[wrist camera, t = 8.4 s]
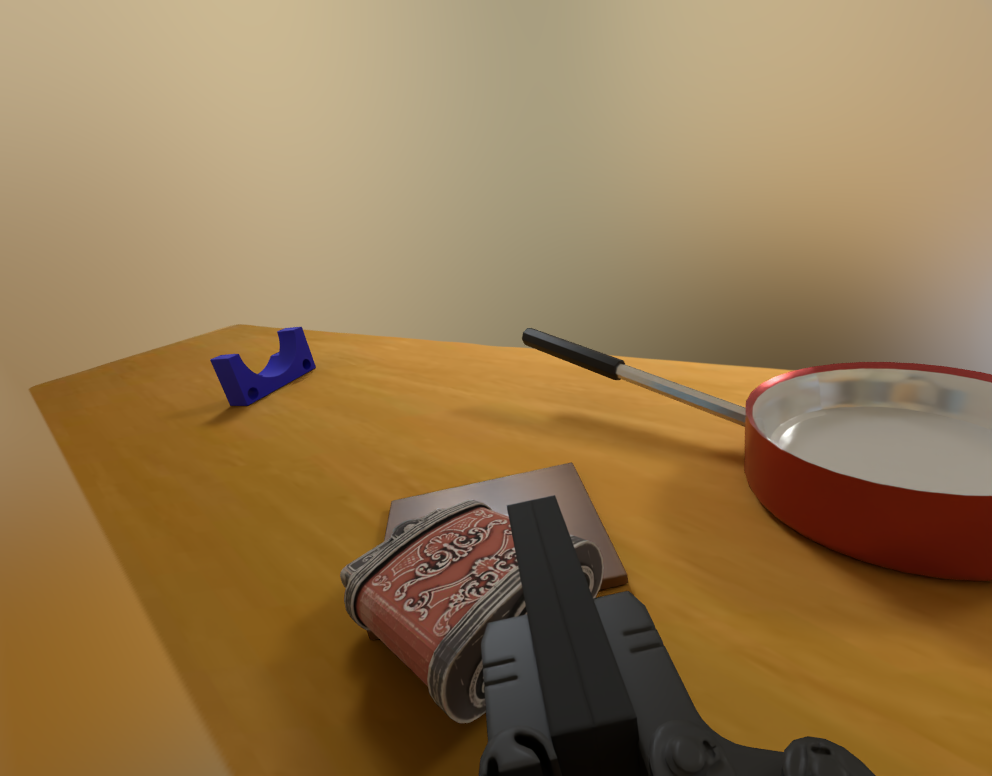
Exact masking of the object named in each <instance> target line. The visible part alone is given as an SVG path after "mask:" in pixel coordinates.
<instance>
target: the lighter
mask: <svg viewBox="0 0 992 776" xmlns="http://www.w3.org/2000/svg"><path fill="white" fill-rule="evenodd" d="M570 537H571V540H572V542H573V545H574V548H575V551H576V553H577V556H578V559H579V561H580V564H581V567H582V570H583V572H584V575H585V578H586V580H587V583H588V586H589V589H590V591H591V594H592V597H593V598H595V597H596V595H597V593H598V591H599V589H600V586H601V583H602V579H603V569H604V567H603V558H602V555H601V552H600V549H599V548H598V547H597V545H596V544H595V543H593V542H590V541H588V540H585V539H582V538H579V537H576V536H574V535H570ZM340 577H341V581H342V583H343V585H344V587H345V588H346V590H345V598H344V602H345V607H346V611H347V612H348V614H349V615H350V617H351V618H352V619H353V620H354V621H355V622H356V623H357V624H358V625H359V626H361V627H362V628H364V629H365V630H371V631H372V632H373V633H374V634H375V635H376V636H377V637H378V638H379V639H380V640H381V641H382V642H383V643H384V644H385V645H386V646H387V647H388V648H389V649H390V650H391V651H392V652H393V653H394V654H395V655H396V656H397V657H398V658H399V659H400V660H401V661H402V662H403V663H404V664H405V665H406V666H407V667H409V668H410V669H411V670H412V671H413V672H414V673H415V674H416V675H417V676H418V677H419V678H420V679H421V680H422V681H423V682H424V683H425V684H426V685H427V686H428V688H429V693H430V695H431V697H432V698H433V700H434V701H435V703H436V704H437V705H438V706H439V707H440V708H441V709H442V710H443V711H444V712H445V713H446V714H447V715H448V716H449V717H450V718H451V719H453V720H455V721H456V722H458V723H470V722H472V721H473V720H475V719H477V718H479V717H480V716H482V715H483V714H484V713H485V712H486V705H485V691H484V678H483V664H482V651H481V641H482V639H483V636H484V633H485V630H486V627H487V624H488V623H489V622H493V621H498V620H503V619H507V618H512V617H516V616H521V615H526V614H527V610H526V605H525V600H524V594H523V589H522V584H521V579H520V574H519V568H518V563H517V558H516V553H515V548H514V542H513V537H512V532H511V527H510V522H509V517H508V516H505V515H503V514H500V513H497V512H494V511H493V510H492V509H491V508H490V507H489V506H488V505H486V504H484V503H481V502H478V501H475V500H467V501H464V502H461V503H459V504H456V505H454V506H451V507H449V508H446V509H441V508H438V509H436V510H434V511H433V512H431V513H429V514H428V515H426V516H425V517H423V518H417V519H411V520H407V521H404V522H402V523H400V524H399V525H397V526H396V527H395V528H394V529H393V533H392V534H391V538H390V539H388V540H386V541H385V542H383V543H382V544H380V545H378V546H377V547H375V548H374V549H372V550H370V551H369V552H367V553H366V554H364V555H363V556H361V557H359V558H358V559H356V560H355V561H353V562H351V563H350V564H348V565H347V566H346V567H344V568H343V570H342V571H341V574H340Z"/></svg>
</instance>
